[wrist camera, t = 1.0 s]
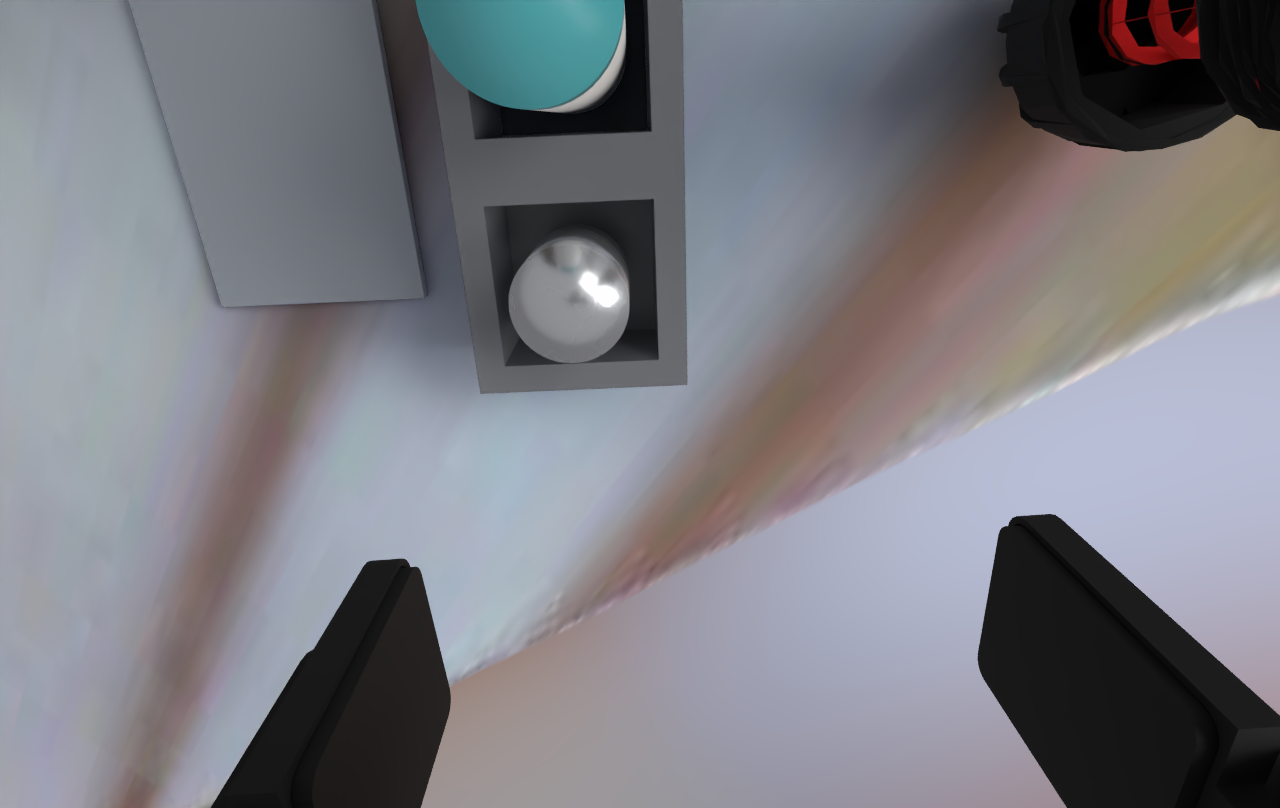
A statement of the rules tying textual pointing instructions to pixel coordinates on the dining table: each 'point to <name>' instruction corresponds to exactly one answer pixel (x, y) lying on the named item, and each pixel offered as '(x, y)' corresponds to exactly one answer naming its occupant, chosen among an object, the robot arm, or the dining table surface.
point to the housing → (574, 220)
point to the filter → (1142, 68)
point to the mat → (286, 146)
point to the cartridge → (531, 49)
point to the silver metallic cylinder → (571, 295)
